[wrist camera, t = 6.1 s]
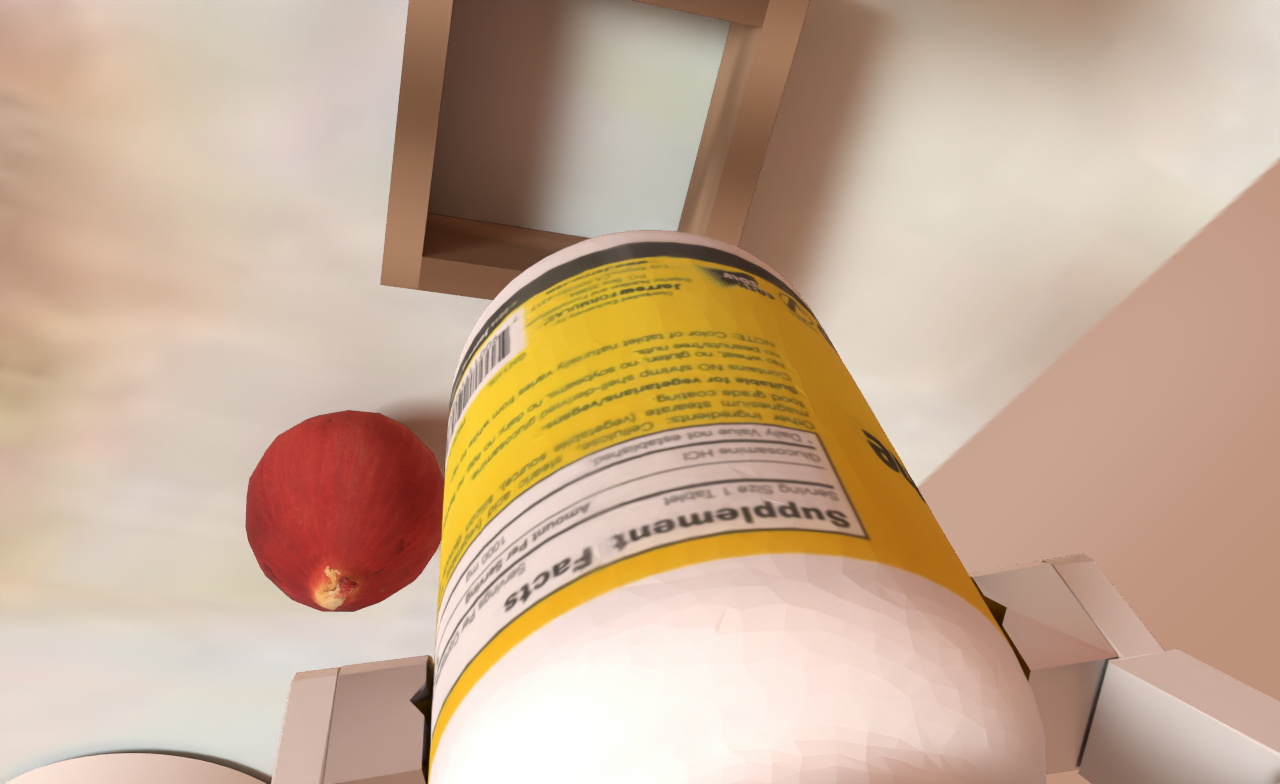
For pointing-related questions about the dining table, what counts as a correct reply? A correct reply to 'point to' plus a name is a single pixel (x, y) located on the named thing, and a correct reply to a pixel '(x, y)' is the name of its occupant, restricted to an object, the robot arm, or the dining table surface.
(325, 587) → the onion
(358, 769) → the robot arm
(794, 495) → the pill bottle
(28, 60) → the dining table surface
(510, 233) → the stepped holder
